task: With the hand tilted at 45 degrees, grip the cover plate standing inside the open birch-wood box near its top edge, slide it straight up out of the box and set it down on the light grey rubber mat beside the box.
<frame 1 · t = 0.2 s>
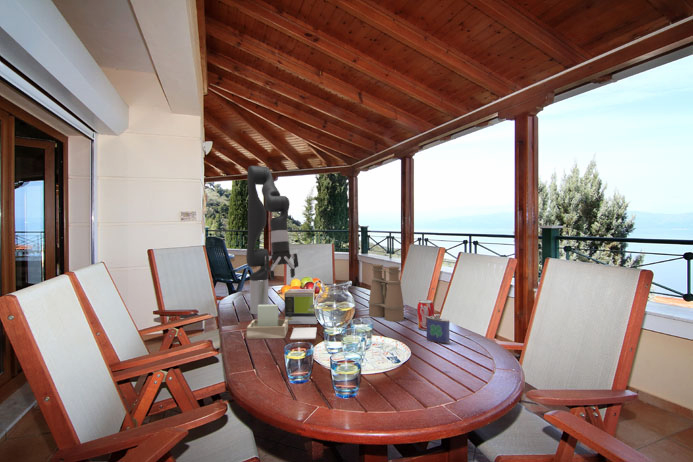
hand: (282, 278, 154), 22 cm above the table, tool pointing down, fingers open, 8 cm apart
flask: (437, 342, 137), on the table
cover plate: (268, 319, 149), in the wooden box
soda can: (425, 329, 154), on the table
wooden box: (268, 333, 149), on the table
binoculars: (386, 317, 174), on the table
grey electronic device: (302, 322, 167), on the table
grey mat: (304, 333, 148), on the table
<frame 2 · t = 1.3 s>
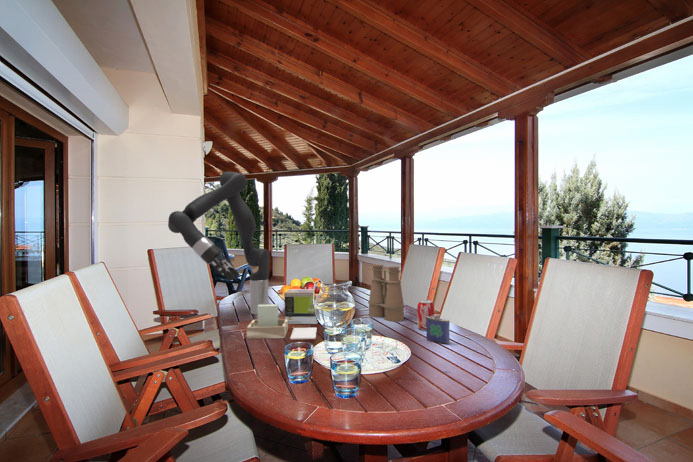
hand: (235, 277, 148), 24 cm above the table, tool tilted 45°, fingers open, 8 cm apart
nothing on the table moved.
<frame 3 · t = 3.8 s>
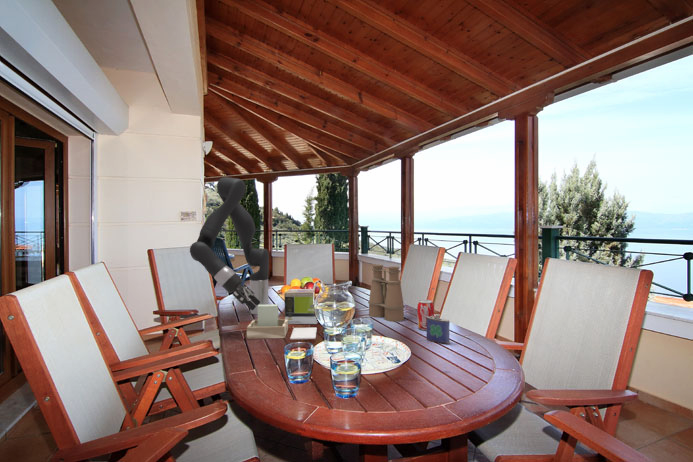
hand: (256, 306, 148), 12 cm above the table, tool tilted 45°, fingers open, 8 cm apart
nothing on the table moved.
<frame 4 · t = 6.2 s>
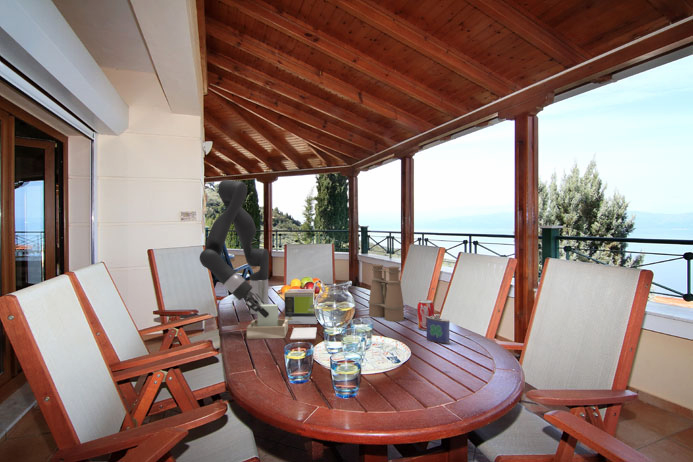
hand: (268, 314, 149), 8 cm above the table, tool tilted 45°, fingers closed on cover plate, 3 cm apart
cover plate: (268, 319, 149), in the wooden box, touching gripper
everything else where it was.
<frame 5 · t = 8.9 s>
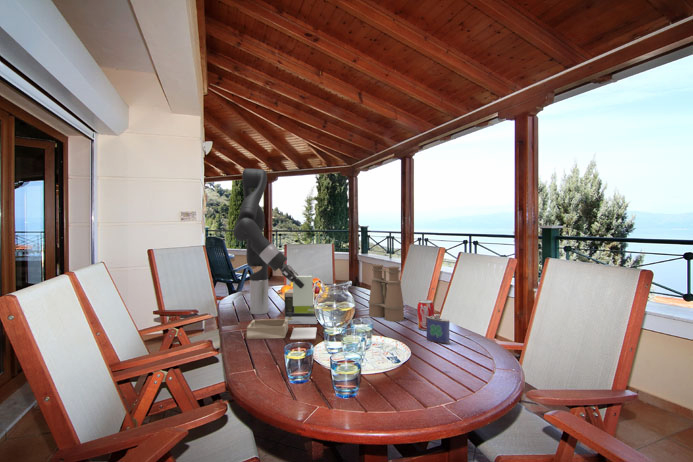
hand: (302, 286, 148), 20 cm above the table, tool tilted 45°, fingers closed on cover plate, 3 cm apart
cover plate: (302, 290, 148), point 18 cm above the table, touching gripper
everything else where it was.
when the fingers open (9 cm above the table, at t = 11.5 s): cover plate stays where it is, resting on grey mat.
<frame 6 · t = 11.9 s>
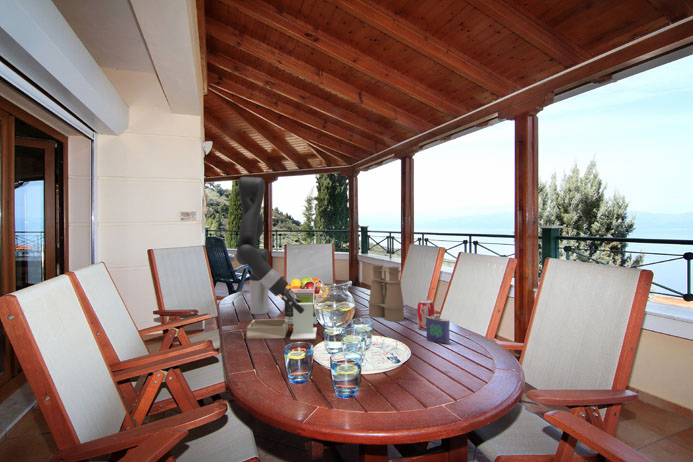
hand: (303, 309, 149), 10 cm above the table, tool tilted 45°, fingers open, 6 cm apart
cover plate: (303, 317, 149), on the grey mat
everything else where it was.
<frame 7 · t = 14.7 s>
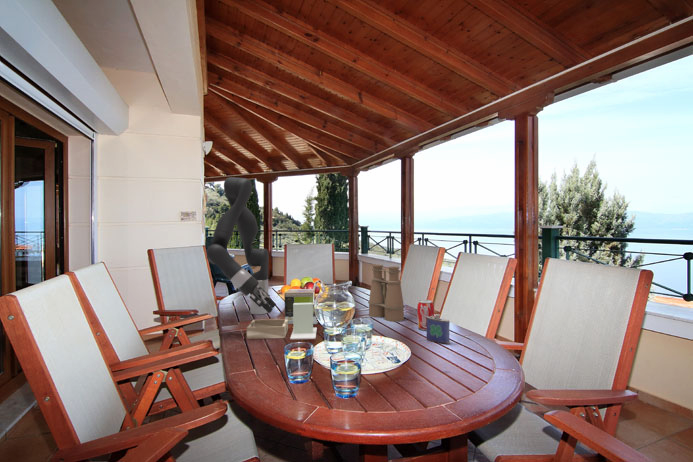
hand: (272, 308, 149), 11 cm above the table, tool tilted 45°, fingers open, 8 cm apart
nothing on the table moved.
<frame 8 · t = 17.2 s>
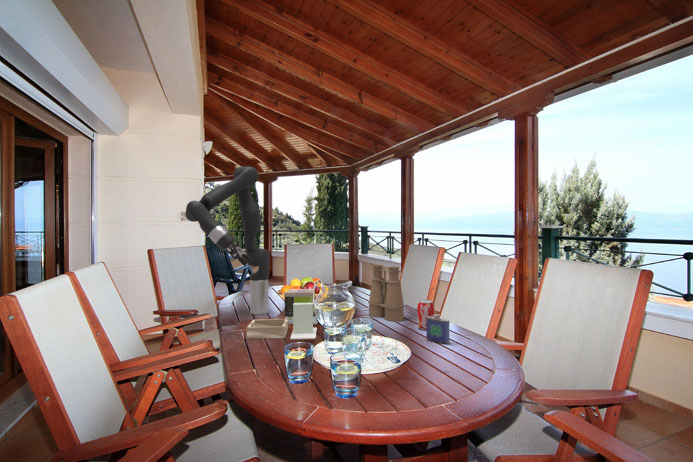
hand: (248, 263, 157), 29 cm above the table, tool tilted 45°, fingers open, 8 cm apart
nothing on the table moved.
at the end: cover plate inside the target area on the grey mat (0.6 cm from its centre), point 6.5 cm above the grey mat's base; cover plate touching grey mat; the gripper is holding nothing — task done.
